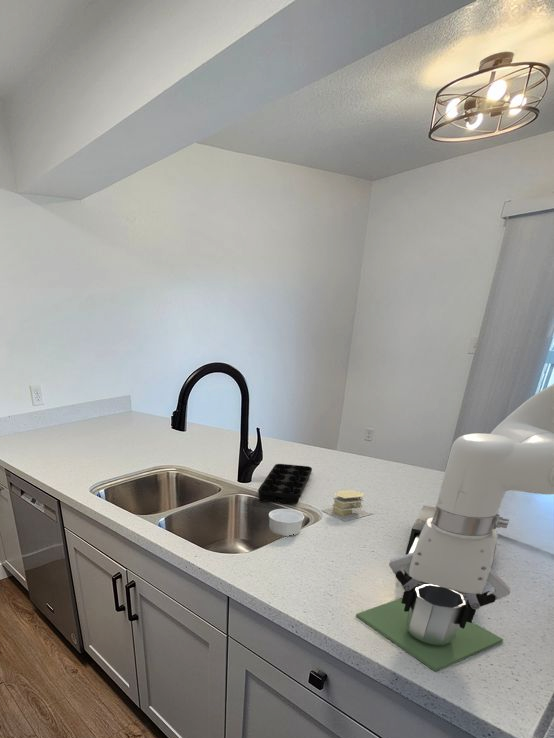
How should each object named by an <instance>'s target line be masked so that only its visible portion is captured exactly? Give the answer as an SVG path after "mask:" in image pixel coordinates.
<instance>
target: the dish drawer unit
mask: <svg viewBox="0 0 554 738" xmlns="http://www.w3.org/2000/svg"><path fill="white" fill-rule="evenodd" d="M435 508H436V506H435V507H434V506H428V505H422V508H421V510H420V512H419V513H418V515H417V517H416V520H415V522H414V523H413V525H412V527H411V531H410V534H409V538H408V542H407V546H406V551H405V555H407V554H408V553H409V551H410V549H411V547H412V545H413V543H414V540H415V538H416V536H417V534H418V533H419V534H421V531H422V529H423V527H424V525H425V523H426V521H427V519H429V518H433V515H434V512H435Z"/></svg>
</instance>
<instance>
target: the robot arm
mask: <svg viewBox="0 0 554 738" xmlns="http://www.w3.org/2000/svg"><path fill="white" fill-rule="evenodd" d="M508 491H513V492H521V493H528V494H536V495H537V494H538V495H554V383H553V384H551V385H549V386H547V387H545V388H544V389H542V390H540V391H538V392H536V393H535V394H533V395H532V396H531V397H530V398H528V399H526V401H524V402H523V403H522V404H520V405H519V406H518V407H517V408H516V409H515V410H513V411H512V412H511V413H510V414H509V415H507V416H506V417H505V419H503V420H502V421H501V422H500V423H499V424H497V426H496V427H495V428H493V430H491V432H490V433H481V432H480V433H476V432H475V433H468V434H464V435H461V436H459V437H457V438H455V440H454V441H453V443H452V445H451V448H450V452H449V456H448V460H447V463H446V466H445V470H444V474H443V478H442V482H441V485H440V490H439V493H438V496H437V501H436V504H435V512H434V515H433V518H429V519H427V521H426V523H425V525H424V527H423V529H422V531H421V534H420V536H419V539H418V542H417V545H416V548H415V551H414V552H413V553H410V554H403V555H404V556H403V555H401V556H397V557H396V558H392V559H390V561H389V563H388V566H389V568H390V569H391V571H392V572H393V573H394V575H395V578H396V579H397V581H398V582H399V583H400V584H401V586H402V589H403V590H404V591H403V595H402V597H403V598H402V597H401V598H402V602H401V603H402V604H405V608H404V611H405V612H407V611H408V612H409V610H410V607H411V603H412V599H413V596H414V592H415V588H417V585H419V584H421V583H420V582H424V583H428V584H432V585H436V586H440V587H444V588H448V589H452V590H456V591H460V592H464V593H465V594H466V595H465V594H464V595H465V597H466V598H467V599H466V600H465V602H466V606H465V609H464V612H463V615H462V618H461V621H460V624H459V626H460V628H463V629H464V628H465V625H466V622H469V623H472V622H473V620H474V617H475V615H476V612H477V610H479V609H481V607H484V606H486V605H489V604H492V603H495V602H496V601H497V600H500V599H503V598H505V597H507V596H509V595H510V594H511V587H510V586H509V585H508V584H507V583H506V582H505V581H504V580H503V579H502V578H501V577H499V575H498V574H496V573H495V571H493V569H492V565H493V562H494V558H495V553H496V549H497V544H498V530H496V529H500V528H502V529H507V527H508V525H509V521H510V518H503V516H501V514H499V512H500V509H501V505H502V503H503V501H504V497H505V494H506V492H508ZM410 563H411V564H410ZM406 564H410V569H409V575H410V576H409V575H408V574H407V573H406V572H405V570H403V569H402V566H403V565H406ZM487 583H488V584H489V585H490V586H491V587H492V588H493V589H492V590H487V591H485V592H483V591H484V589H485V587H486V585H487Z"/></svg>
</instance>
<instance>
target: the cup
mask: <svg viewBox="0 0 554 738" xmlns="http://www.w3.org/2000/svg"><path fill="white" fill-rule="evenodd" d="M465 606H466V599H465V597H464V594H461V593H458V592H456V591H454V590H452V589H448V588H444V587H440V586H436V585H432V584H422V585H420V586H416V588H415V592H414V596H413V599H412V603H411V607H410V610H409V614H408V618H407V629H408V631H409V633H410V634H411V635H412V636H414V637H415V638H417V639H418V640H420V641H423V642H425V643H429V644H434V645H444V644H448V643H449V642H451V641H452V640H454V639H455V637H456V634H457V631H458V628H459V624H460V621H461V618H462V615H463V612H464V609H465Z"/></svg>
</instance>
